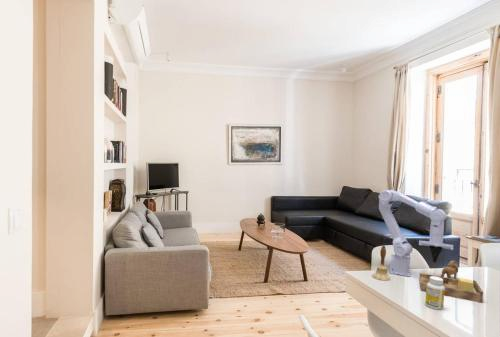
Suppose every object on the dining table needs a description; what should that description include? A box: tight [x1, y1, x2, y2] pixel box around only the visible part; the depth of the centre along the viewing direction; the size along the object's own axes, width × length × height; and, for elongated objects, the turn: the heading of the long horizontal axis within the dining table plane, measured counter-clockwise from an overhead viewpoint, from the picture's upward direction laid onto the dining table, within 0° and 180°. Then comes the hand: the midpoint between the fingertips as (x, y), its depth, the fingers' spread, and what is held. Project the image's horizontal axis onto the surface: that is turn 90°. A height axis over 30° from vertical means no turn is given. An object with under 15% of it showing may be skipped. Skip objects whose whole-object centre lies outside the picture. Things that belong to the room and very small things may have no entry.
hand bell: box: [371, 245, 391, 282], centre depth 162 cm, size 8×8×16 cm
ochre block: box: [457, 277, 474, 292], centre depth 148 cm, size 5×5×4 cm
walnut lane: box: [418, 272, 484, 304], centre depth 150 cm, size 23×16×4 cm
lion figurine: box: [440, 260, 459, 279], centre depth 165 cm, size 15×5×9 cm, turn 132°
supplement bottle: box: [425, 275, 445, 310], centre depth 132 cm, size 6×6×11 cm
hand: (434, 261), depth 161 cm, fingers closed
